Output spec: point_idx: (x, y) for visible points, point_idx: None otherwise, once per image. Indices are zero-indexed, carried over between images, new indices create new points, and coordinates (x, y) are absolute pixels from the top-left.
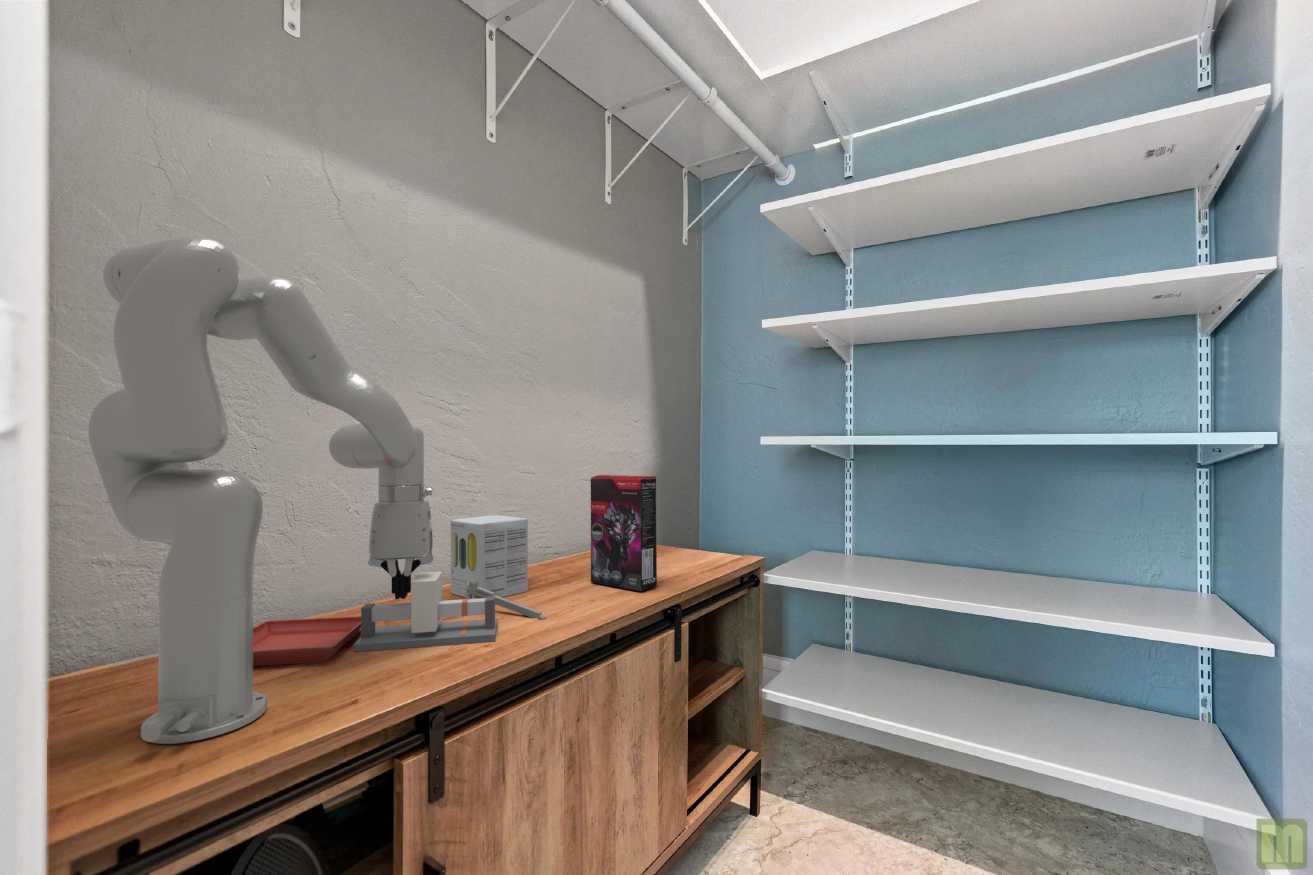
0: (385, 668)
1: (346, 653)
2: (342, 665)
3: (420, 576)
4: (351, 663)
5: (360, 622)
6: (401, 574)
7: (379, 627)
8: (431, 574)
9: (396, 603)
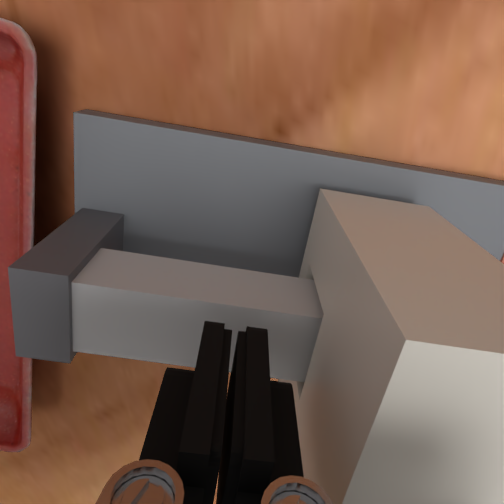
0: None
1: None
2: (87, 422)
3: (384, 497)
4: (108, 416)
5: (28, 175)
6: (212, 468)
7: (129, 139)
8: (497, 458)
9: (200, 302)
